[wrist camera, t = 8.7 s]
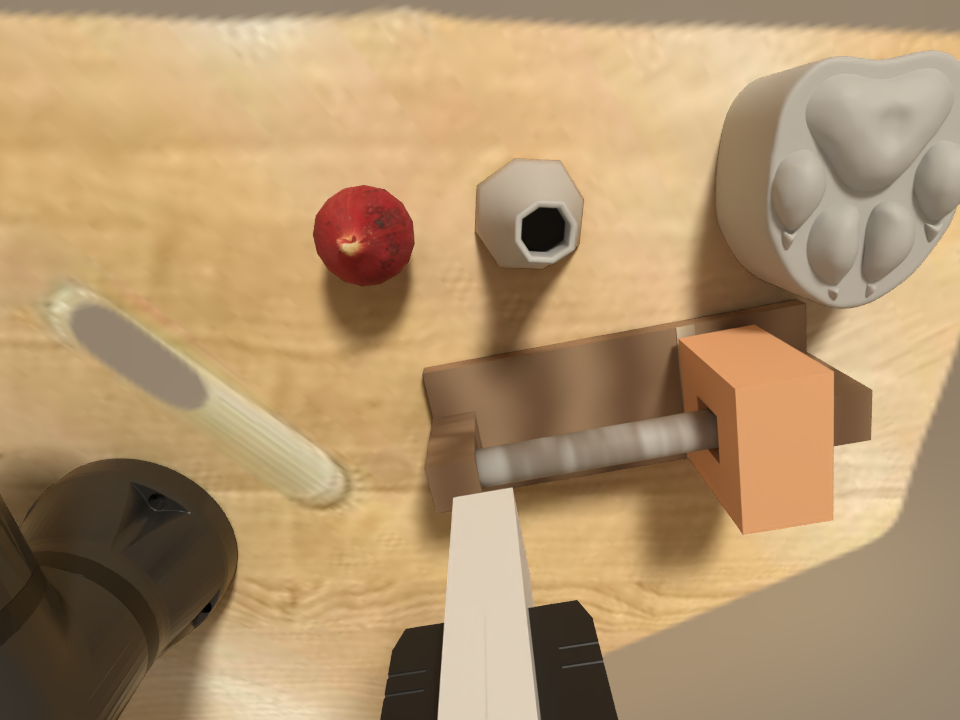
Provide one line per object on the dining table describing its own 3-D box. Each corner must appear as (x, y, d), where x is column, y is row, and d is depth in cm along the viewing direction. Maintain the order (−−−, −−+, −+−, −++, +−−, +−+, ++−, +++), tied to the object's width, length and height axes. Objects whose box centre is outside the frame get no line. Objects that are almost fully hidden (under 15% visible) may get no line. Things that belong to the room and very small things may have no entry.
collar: (688, 457, 41) (743, 534, 33) (678, 338, 39) (735, 388, 30) (759, 445, 41) (833, 520, 33) (754, 324, 38) (833, 371, 30)
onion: (389, 165, 37) (367, 167, 29) (436, 246, 39) (426, 267, 31) (313, 212, 38) (272, 225, 30) (361, 288, 39) (334, 319, 32)
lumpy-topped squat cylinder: (895, 66, 35) (1021, 38, 27) (862, 279, 39) (963, 311, 31) (722, 78, 35) (795, 54, 27) (708, 289, 40) (768, 322, 31)
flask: (595, 253, 39) (633, 283, 29) (490, 283, 39) (494, 321, 30) (570, 141, 37) (603, 134, 27) (459, 174, 37) (453, 179, 28)
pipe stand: (452, 489, 44) (447, 559, 37) (423, 368, 41) (411, 416, 34) (798, 430, 43) (869, 489, 35) (796, 299, 40) (873, 333, 32)
